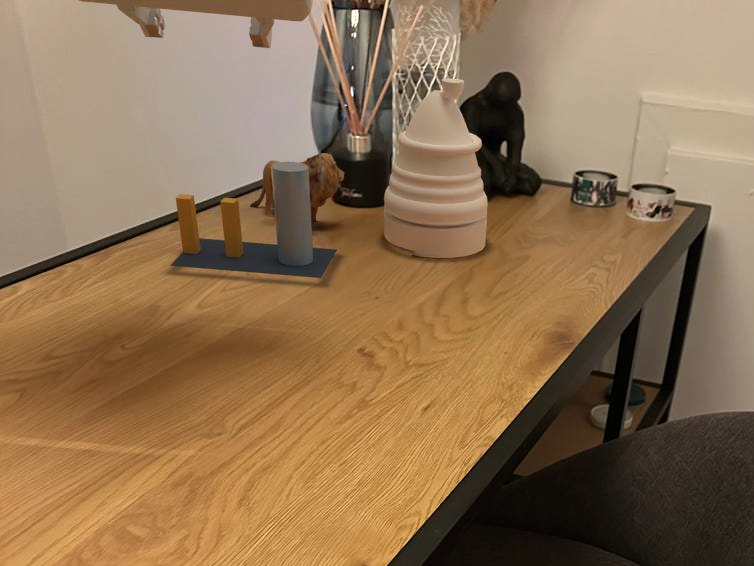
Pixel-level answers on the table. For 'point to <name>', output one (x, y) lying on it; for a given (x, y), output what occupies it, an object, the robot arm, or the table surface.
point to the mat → (253, 259)
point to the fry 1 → (188, 223)
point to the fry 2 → (231, 227)
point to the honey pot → (437, 182)
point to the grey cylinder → (292, 213)
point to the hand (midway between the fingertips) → (209, 35)
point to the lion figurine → (320, 181)
